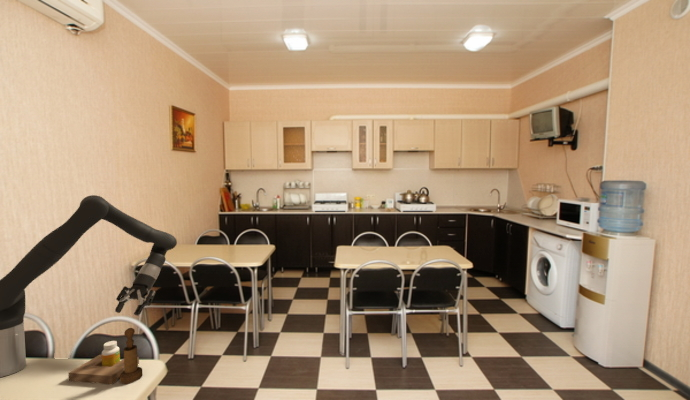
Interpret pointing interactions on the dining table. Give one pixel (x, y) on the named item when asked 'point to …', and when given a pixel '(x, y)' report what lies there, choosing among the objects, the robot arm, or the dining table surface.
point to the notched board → (97, 372)
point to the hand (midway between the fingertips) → (126, 313)
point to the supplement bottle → (110, 354)
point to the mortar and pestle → (130, 360)
